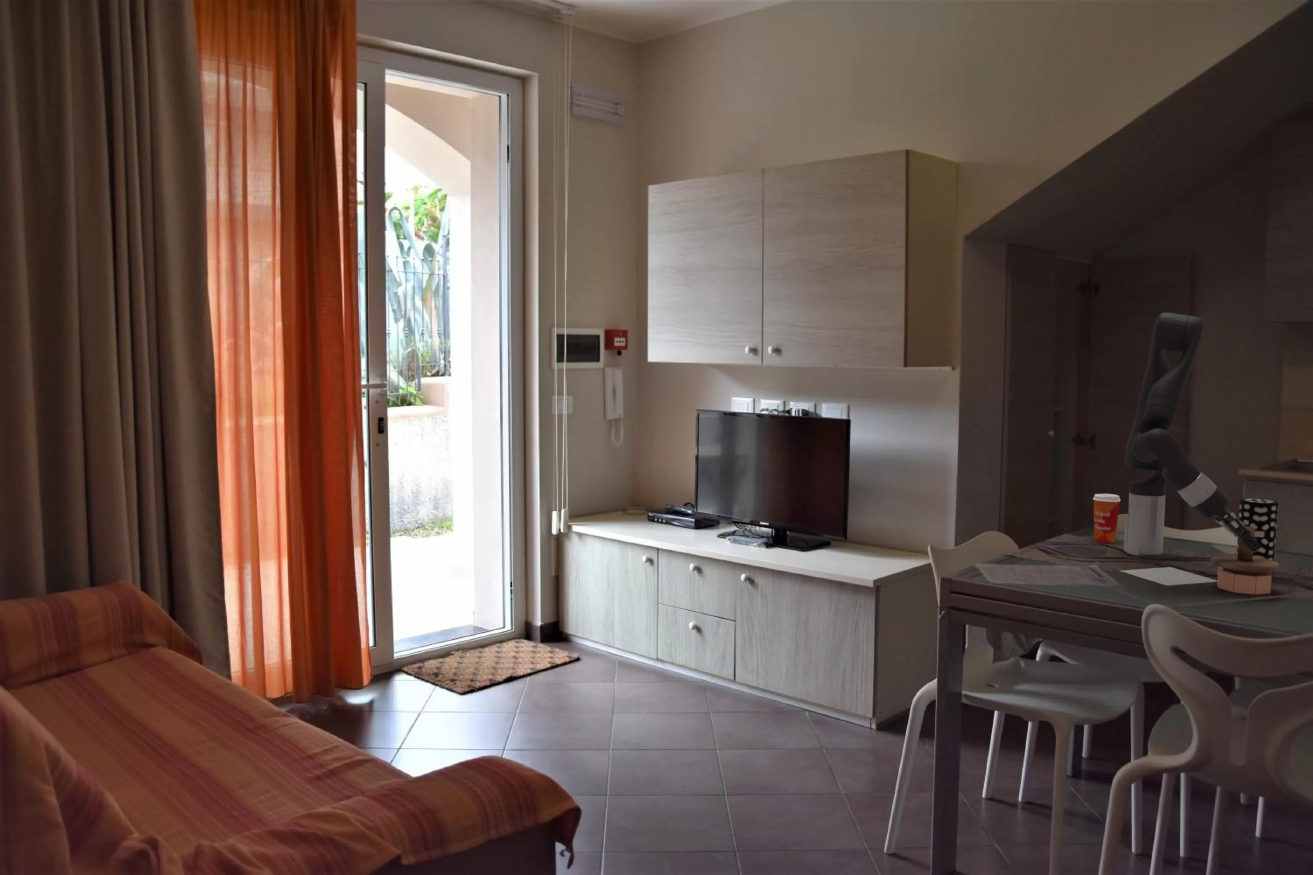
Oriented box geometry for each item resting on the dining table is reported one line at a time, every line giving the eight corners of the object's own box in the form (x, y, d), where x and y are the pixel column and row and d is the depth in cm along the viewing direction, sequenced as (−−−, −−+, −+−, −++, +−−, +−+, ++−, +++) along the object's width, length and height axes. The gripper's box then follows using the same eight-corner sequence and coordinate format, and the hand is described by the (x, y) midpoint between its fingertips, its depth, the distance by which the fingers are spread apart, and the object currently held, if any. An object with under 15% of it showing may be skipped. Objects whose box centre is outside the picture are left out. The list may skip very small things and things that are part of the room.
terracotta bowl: (1206, 587, 245) (1207, 567, 245) (1242, 584, 248) (1243, 564, 248) (1244, 598, 235) (1245, 577, 234) (1281, 595, 238) (1282, 574, 237)
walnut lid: (1197, 560, 246) (1200, 523, 245) (1243, 557, 249) (1245, 521, 249) (1245, 573, 232) (1248, 534, 231) (1292, 570, 236) (1295, 531, 235)
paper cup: (1085, 539, 303) (1087, 493, 302) (1105, 538, 305) (1108, 492, 304) (1103, 544, 296) (1106, 497, 294) (1124, 543, 298) (1127, 496, 297)
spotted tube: (1227, 575, 257) (1232, 499, 255) (1251, 573, 260) (1256, 497, 258) (1257, 583, 250) (1262, 504, 248) (1280, 580, 253) (1286, 502, 251)
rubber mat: (1119, 573, 259) (1119, 570, 259) (1169, 569, 263) (1170, 566, 263) (1166, 588, 244) (1167, 585, 244) (1219, 584, 248) (1219, 581, 248)
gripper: (1223, 488, 234) (1278, 543, 232) (1207, 480, 248) (1259, 532, 246) (1196, 509, 236) (1251, 564, 234) (1182, 500, 250) (1234, 551, 248)
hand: (1255, 547), depth 240 cm, fingers closed on walnut lid, 3 cm apart
